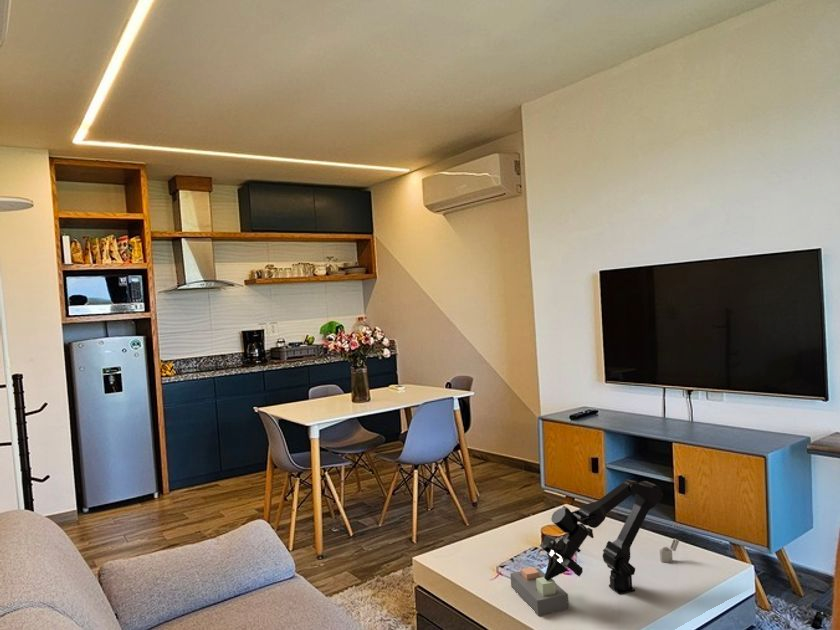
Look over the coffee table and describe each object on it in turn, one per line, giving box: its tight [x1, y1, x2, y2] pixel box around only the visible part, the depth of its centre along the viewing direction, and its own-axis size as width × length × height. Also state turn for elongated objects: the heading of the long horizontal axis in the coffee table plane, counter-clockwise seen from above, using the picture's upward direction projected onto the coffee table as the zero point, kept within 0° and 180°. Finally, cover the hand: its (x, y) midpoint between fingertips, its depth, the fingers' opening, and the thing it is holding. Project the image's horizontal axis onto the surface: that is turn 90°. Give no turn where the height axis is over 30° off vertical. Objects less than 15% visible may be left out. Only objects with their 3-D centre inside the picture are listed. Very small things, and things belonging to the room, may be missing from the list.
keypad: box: [509, 567, 570, 617], centre depth 203 cm, size 11×21×5 cm, turn 15°
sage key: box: [536, 577, 556, 596], centre depth 197 cm, size 5×5×6 cm
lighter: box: [659, 538, 680, 563], centre depth 225 cm, size 7×2×8 cm, turn 96°
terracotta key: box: [520, 566, 539, 581], centre depth 209 cm, size 5×5×6 cm
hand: (545, 579), depth 197 cm, fingers closed, pressing on sage key
